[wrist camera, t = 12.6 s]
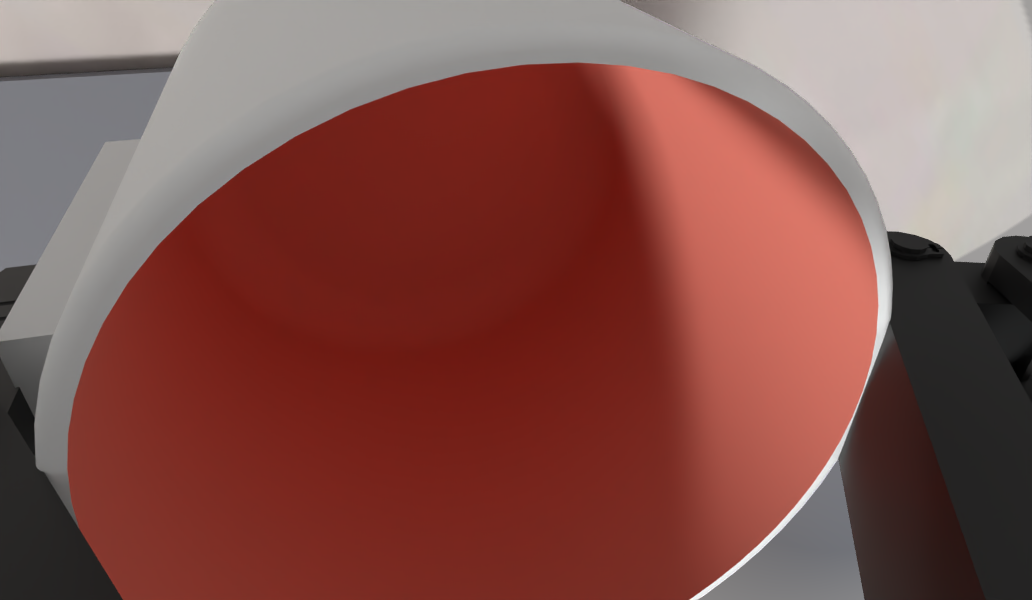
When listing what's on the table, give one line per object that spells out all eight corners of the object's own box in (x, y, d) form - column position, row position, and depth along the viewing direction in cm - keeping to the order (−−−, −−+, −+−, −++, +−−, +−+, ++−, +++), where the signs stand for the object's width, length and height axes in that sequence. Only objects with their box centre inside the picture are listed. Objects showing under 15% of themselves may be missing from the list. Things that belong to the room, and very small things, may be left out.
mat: (-236, 90, 22) (-248, 96, 22) (225, 64, 26) (224, 68, 25) (-50, 418, 30) (-55, 427, 29) (289, 365, 33) (289, 373, 33)
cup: (677, 38, 17) (1050, 226, 9) (500, 363, 21) (643, 701, 13) (240, -197, 12) (167, -260, 4) (122, 279, 16) (-35, 723, 8)
